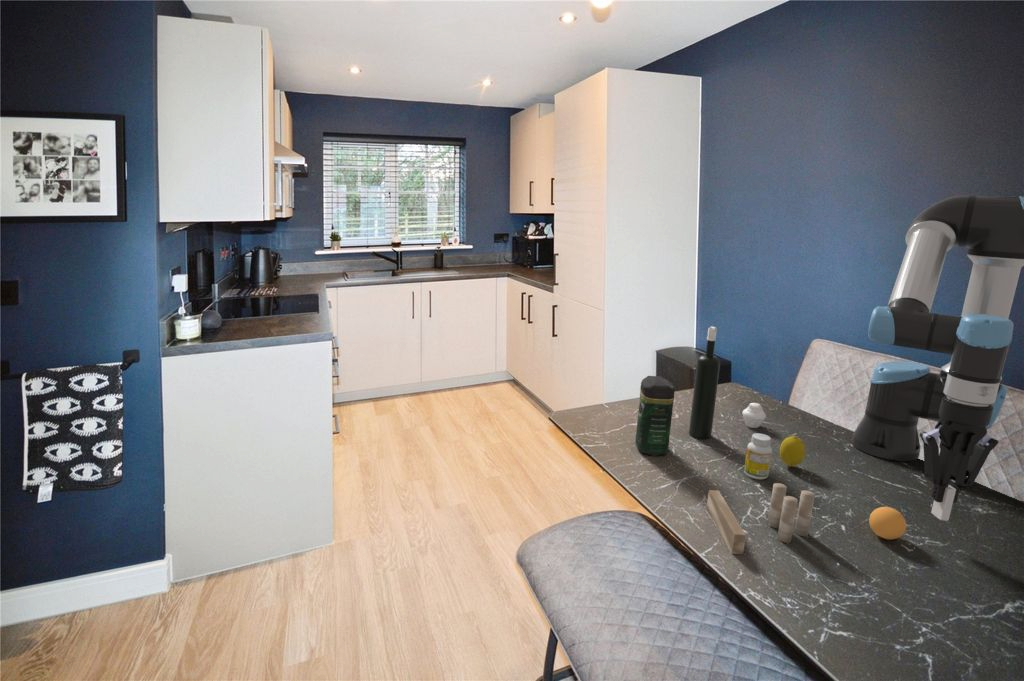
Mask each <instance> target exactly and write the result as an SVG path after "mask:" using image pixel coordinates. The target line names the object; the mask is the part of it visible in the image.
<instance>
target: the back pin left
mask: <svg viewBox="0 0 1024 681" xmlns="http://www.w3.org/2000/svg"><path fill="white" fill-rule="evenodd" d="M798 502H799V500H798V498H796V497H794V496H792V495H791V496H790V495H785V497H784V501H783V507H782V513H781V519H780V525H779V528H778V533H777V536H776V537H777V540H778V541H779V542H782V543H785V544H790V543H791V542H792V538H793V533H794V528H795V526H794V525H795V522H796V521H795V520H796V517H797V511H798V505H799V503H798Z"/></svg>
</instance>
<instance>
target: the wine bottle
mask: <svg viewBox="0 0 1024 681" xmlns="http://www.w3.org/2000/svg"><path fill="white" fill-rule="evenodd" d="M717 333H718V327H716V326H712V325H711V326H709V327H708V329H707V336H706V348H705V349H706V350H705V354H703V355H700V356H699V357H698V358H697V361H696V368H695V377H694V385H693V393H692V395H693V396H692V403H691V409H690V410H691V412H690V419H689V427H688V434H689V436H690V437H693V438H695V439H699V440H708V439H710V438H712V433H713V424H714V418H715V417H714V414H715V408H716V407H715V406H716V399H717V391H718V385H719V384H718V383H719V375H720V370H721V361H720V359H719V358H718V357H717V356H715V355H714V354H715V345H716V340H717V335H718V334H717Z"/></svg>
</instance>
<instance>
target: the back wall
mask: <svg viewBox="0 0 1024 681" xmlns="http://www.w3.org/2000/svg"><path fill="white" fill-rule="evenodd" d="M706 509H707V511H708V513H709V514H710V516H711V518H712V520H713V521H714V524H715V525H716V527H717V529H718V531H719V533H720V534H721V537H722V538H723V540H724V542H725V544H726V545H727V547H728V550H729V551H730V553H731V554H733V555H744V551H745V550H744V549H745V543H746V537H747V535H746V533H745V532H744V529H743V527H741V524H740V523H739V522H738V520H737V518H736V517H735V514H734V513H733V512H732V510H731V508H730V507H729V505H728V504H727V501H726V500H725V498H724V497H723V495H722V494H721V491H720V490H719V489H717V490H713V489H709V490H708V494H707V502H706Z"/></svg>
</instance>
